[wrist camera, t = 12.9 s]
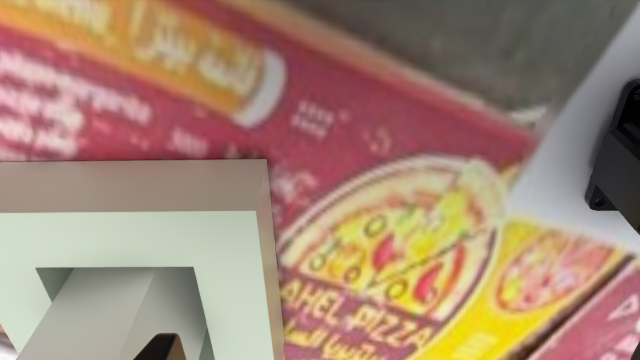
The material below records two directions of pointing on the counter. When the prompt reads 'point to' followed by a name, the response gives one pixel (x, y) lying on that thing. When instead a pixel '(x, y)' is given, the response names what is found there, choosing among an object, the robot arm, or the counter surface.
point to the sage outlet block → (145, 240)
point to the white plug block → (119, 314)
